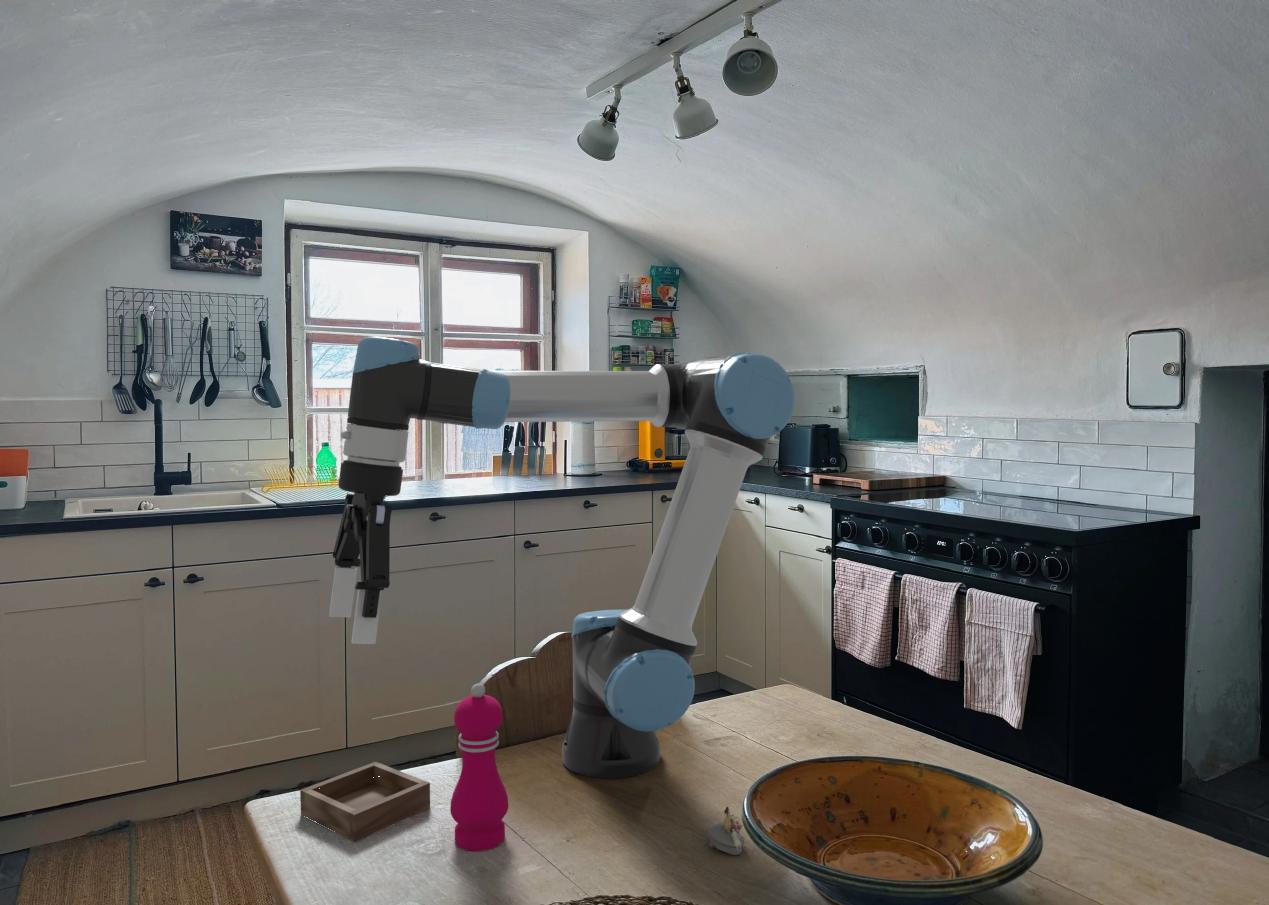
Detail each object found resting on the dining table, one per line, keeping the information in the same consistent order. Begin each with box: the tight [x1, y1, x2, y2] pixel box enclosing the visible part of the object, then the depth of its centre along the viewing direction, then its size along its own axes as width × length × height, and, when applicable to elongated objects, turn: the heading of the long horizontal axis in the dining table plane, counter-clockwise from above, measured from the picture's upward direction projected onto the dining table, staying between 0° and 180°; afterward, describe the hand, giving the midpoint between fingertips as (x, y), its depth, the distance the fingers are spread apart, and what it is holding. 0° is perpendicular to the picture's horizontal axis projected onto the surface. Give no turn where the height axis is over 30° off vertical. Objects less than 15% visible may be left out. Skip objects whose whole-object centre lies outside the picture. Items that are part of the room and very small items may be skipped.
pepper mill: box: [449, 682, 509, 852], centre depth 113 cm, size 7×7×20 cm
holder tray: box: [299, 761, 431, 843], centre depth 122 cm, size 12×12×4 cm
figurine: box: [705, 806, 745, 856], centre depth 111 cm, size 5×4×6 cm
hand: (350, 629), depth 113 cm, fingers open, 13 cm apart
